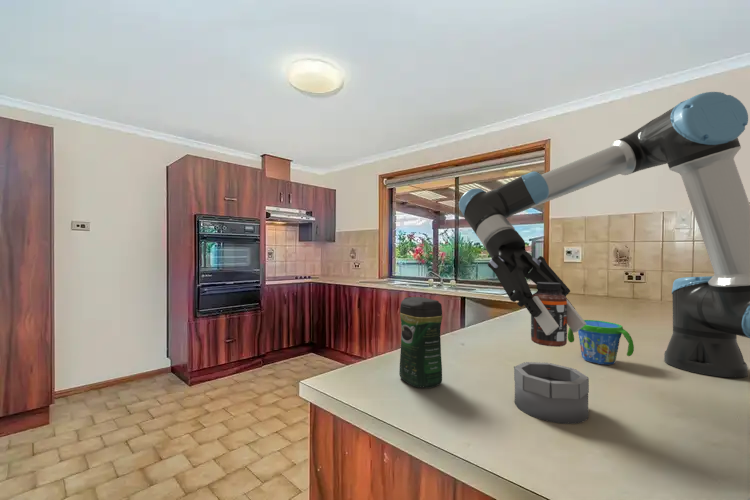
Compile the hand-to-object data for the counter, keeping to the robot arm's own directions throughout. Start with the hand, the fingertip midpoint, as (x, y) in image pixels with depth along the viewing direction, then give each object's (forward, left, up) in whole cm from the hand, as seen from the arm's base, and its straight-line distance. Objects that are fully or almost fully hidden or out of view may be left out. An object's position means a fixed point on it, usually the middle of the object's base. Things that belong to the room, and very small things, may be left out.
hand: (566, 329), depth 59 cm
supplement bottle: (+2, -3, -4) cm, 5 cm away
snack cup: (-25, -33, -15) cm, 44 cm away
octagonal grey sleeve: (+1, -3, -15) cm, 16 cm away
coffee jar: (+24, -14, -15) cm, 32 cm away
